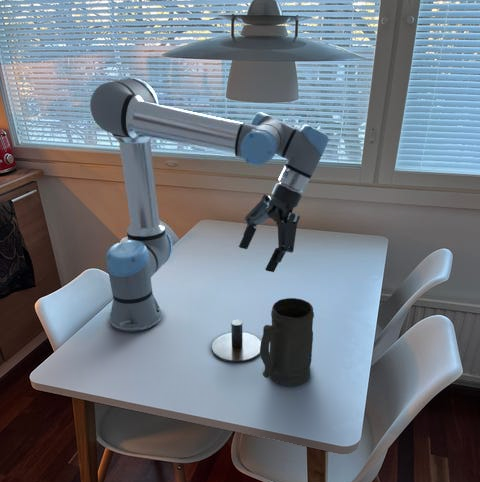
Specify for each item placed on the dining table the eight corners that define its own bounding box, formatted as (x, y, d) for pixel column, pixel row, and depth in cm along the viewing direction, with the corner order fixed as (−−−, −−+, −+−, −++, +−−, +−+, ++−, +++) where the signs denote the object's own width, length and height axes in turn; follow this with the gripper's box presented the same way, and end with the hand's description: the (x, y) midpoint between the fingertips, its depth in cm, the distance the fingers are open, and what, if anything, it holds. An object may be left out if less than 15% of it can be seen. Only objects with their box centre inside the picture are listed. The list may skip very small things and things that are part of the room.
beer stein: (285, 354, 128) (285, 291, 117) (319, 369, 122) (323, 304, 111) (250, 385, 119) (246, 320, 107) (286, 403, 113) (285, 336, 101)
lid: (201, 347, 131) (200, 322, 127) (237, 328, 140) (237, 304, 135) (236, 369, 123) (236, 343, 118) (272, 347, 131) (273, 322, 127)
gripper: (253, 167, 129) (222, 236, 137) (310, 203, 113) (271, 279, 121) (272, 174, 134) (242, 241, 142) (329, 210, 118) (291, 283, 126)
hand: (255, 259), depth 131 cm, fingers open, 13 cm apart
